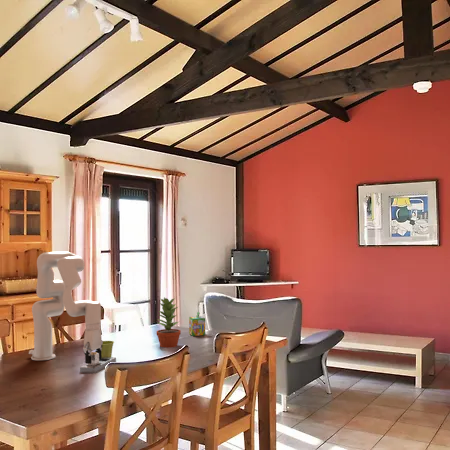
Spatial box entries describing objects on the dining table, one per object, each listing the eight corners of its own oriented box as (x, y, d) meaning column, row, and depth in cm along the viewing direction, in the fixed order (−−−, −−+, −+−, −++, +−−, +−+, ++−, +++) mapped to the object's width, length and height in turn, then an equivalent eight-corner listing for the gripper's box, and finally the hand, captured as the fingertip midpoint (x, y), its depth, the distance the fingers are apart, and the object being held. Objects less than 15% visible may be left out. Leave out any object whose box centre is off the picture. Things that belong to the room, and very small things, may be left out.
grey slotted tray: (80, 372, 255) (79, 367, 255) (102, 361, 276) (102, 356, 276) (94, 373, 252) (94, 368, 252) (116, 362, 274) (115, 357, 274)
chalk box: (188, 334, 349) (188, 311, 349) (202, 333, 352) (201, 311, 352) (192, 336, 340) (191, 313, 340) (205, 335, 343) (205, 313, 343)
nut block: (87, 370, 258) (87, 353, 258) (92, 368, 262) (91, 351, 262) (95, 371, 257) (94, 353, 257) (99, 368, 261) (98, 351, 261)
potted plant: (183, 343, 320) (182, 294, 320) (178, 348, 304) (177, 297, 305) (159, 343, 321) (158, 294, 322) (153, 348, 306) (152, 297, 306)
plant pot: (96, 361, 277) (96, 344, 277) (96, 357, 286) (96, 341, 286) (114, 359, 280) (114, 343, 280) (113, 355, 289) (113, 340, 289)
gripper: (95, 323, 269) (95, 356, 269) (77, 329, 252) (77, 364, 252) (108, 323, 267) (108, 357, 267) (90, 330, 250) (91, 365, 250)
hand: (93, 361), depth 259 cm, fingers open, 9 cm apart
